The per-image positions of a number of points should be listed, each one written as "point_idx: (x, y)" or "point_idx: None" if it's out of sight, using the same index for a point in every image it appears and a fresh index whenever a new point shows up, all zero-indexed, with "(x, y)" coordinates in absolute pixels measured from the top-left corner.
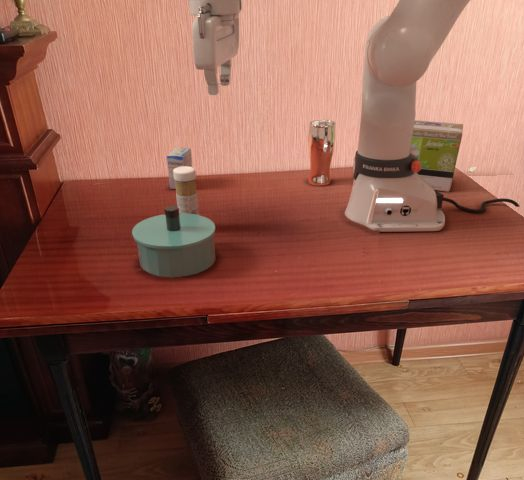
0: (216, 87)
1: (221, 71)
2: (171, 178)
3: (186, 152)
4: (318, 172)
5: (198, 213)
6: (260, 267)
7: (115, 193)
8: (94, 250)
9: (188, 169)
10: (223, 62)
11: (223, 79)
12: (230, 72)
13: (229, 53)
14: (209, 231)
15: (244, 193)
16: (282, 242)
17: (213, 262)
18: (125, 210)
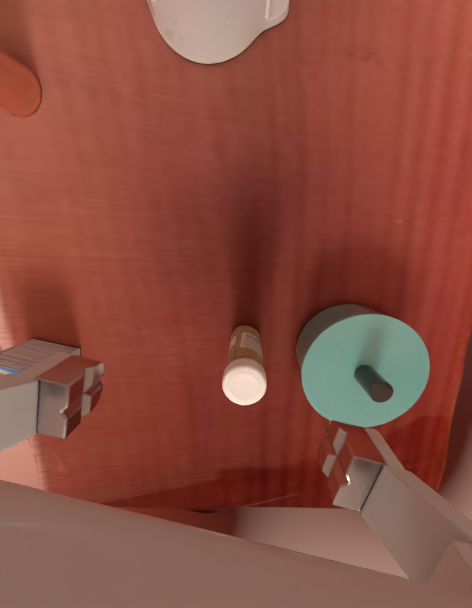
0: (393, 457)
1: (7, 442)
2: None
3: (6, 368)
4: (14, 79)
5: (247, 333)
6: (382, 243)
7: (99, 442)
8: (293, 445)
9: (247, 378)
10: (399, 585)
11: (80, 404)
12: (1, 378)
13: (6, 590)
14: (388, 322)
15: (91, 252)
16: (304, 201)
17: (366, 307)
18: (165, 424)
